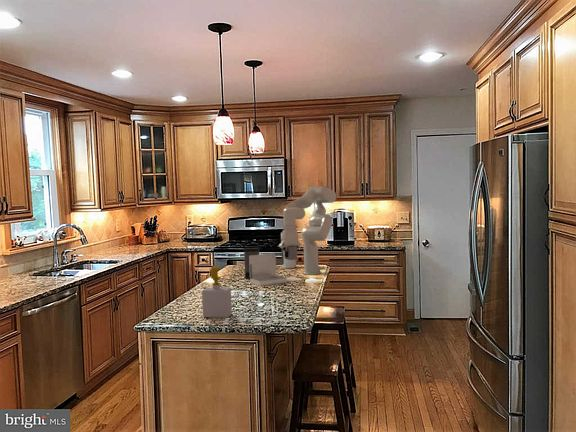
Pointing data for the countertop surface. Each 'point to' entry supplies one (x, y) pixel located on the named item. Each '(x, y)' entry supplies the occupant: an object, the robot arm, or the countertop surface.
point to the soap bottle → (216, 298)
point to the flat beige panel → (293, 279)
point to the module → (291, 253)
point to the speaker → (287, 261)
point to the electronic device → (248, 253)
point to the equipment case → (264, 270)
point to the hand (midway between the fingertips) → (290, 256)
